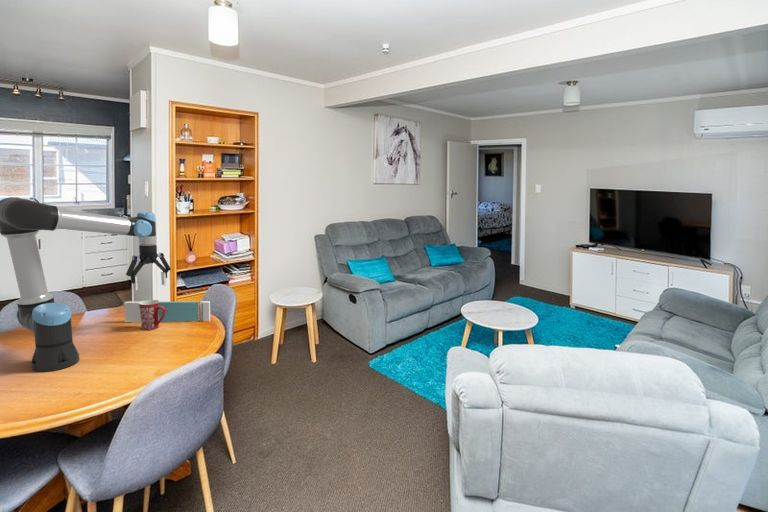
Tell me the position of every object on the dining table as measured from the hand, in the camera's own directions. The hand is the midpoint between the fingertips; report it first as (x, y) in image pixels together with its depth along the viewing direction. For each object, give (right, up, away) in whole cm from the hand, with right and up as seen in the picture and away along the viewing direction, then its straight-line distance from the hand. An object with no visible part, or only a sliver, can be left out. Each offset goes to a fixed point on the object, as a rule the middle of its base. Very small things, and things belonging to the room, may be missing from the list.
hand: (150, 287), depth 209 cm
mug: (0, -21, +3) cm, 21 cm away
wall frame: (+2, -19, +15) cm, 24 cm away
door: (+7, -19, +15) cm, 25 cm away
